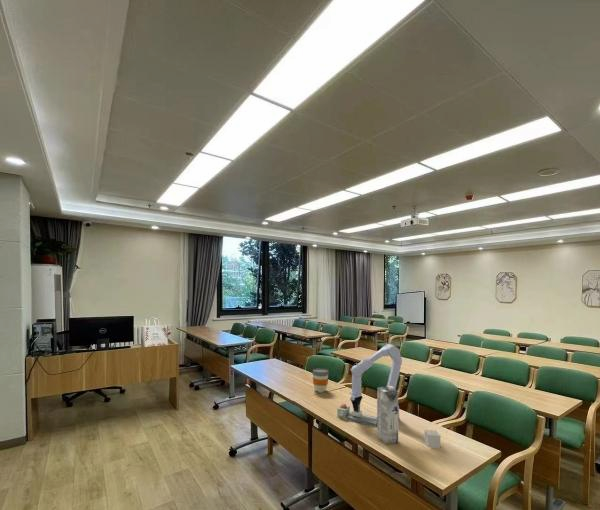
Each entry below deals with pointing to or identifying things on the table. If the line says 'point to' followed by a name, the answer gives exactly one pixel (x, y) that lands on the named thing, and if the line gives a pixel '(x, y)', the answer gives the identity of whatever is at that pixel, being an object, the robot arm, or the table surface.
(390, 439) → the juice carton
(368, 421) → the rail board
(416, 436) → the table surface
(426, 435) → the light grey cube
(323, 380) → the reusable coffee cup
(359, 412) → the carriage
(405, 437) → the table surface
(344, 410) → the end cabinet
